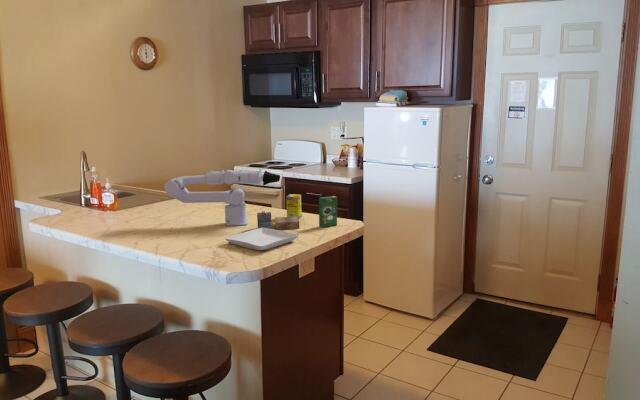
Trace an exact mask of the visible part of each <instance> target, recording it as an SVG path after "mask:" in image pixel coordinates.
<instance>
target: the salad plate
mask: <svg viewBox="0 0 640 400" xmlns="http://www.w3.org/2000/svg"><path fill="white" fill-rule="evenodd" d="M298 237H299V234H296V233H293V232H288V231H283V230H280V229H274V228H272V229H268V228H259V229H258V228H256V229H252V230H248V231H244V232H240V233H237V234H233V235H231V236H230V235H229V236H227V237H225V241H227V242H229V243H230V244H233V245H236V246H238V245H239V246H240V247H242V248H247V249H250V250H251V249H252V250H254V251H255V250H256V251H268V250H270V249H274V248H276V247H279V246H283V245H285V244H288V243H290V242H293V241H295V240H296V239H297V238H298Z"/></svg>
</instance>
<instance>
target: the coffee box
mask: <svg viewBox="0 0 640 400" xmlns="http://www.w3.org/2000/svg"><path fill="white" fill-rule="evenodd" d="M318 226H319V228H327V227H335V226H338V196H335V195H332V196H321V197H318Z"/></svg>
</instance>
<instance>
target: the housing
mask: <svg viewBox="0 0 640 400" xmlns="http://www.w3.org/2000/svg"><path fill="white" fill-rule="evenodd" d="M256 218H257V220H256V221H257V229H259V228H268V229H273V228H272V225H273V224H272V223H273V222H272V212H271V211H270V212H269V211H266V210H262V211H261V212H257V213H256Z"/></svg>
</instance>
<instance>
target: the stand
mask: <svg viewBox="0 0 640 400" xmlns="http://www.w3.org/2000/svg"><path fill="white" fill-rule="evenodd" d="M275 228H276V229H275V230H292V229H293V230H295V229H300V218H299V219H298V216H297V217H287V216H282V217H281V216H278V217H277V216H276V217H275Z"/></svg>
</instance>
